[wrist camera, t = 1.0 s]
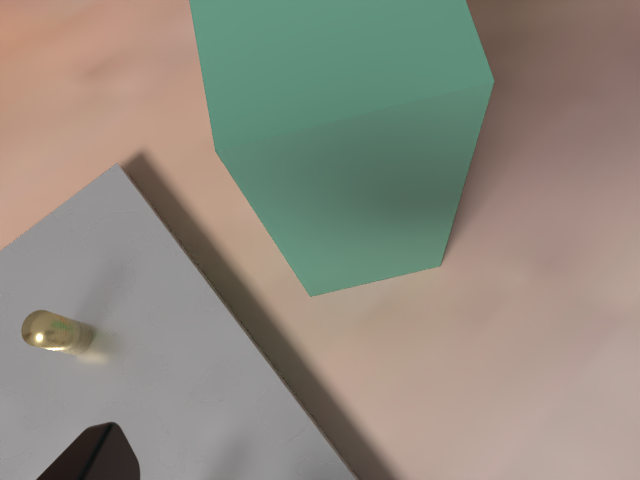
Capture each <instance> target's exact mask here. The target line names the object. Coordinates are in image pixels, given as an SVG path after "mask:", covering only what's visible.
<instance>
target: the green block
mask: <svg viewBox="0 0 640 480" xmlns="http://www.w3.org/2000/svg"><path fill="white" fill-rule="evenodd" d="M189 1H190V7H191V13H192V19H193V24H194V30H195V36H196V42H197V48H198V53H199V59H200V65H201V71H202V77H203V82H204V88H205V94H206V100H207V106H208V111H209V117H210V123H211V129H212V135H213V140H214V146H215V151H216V153H217V154H218V156H219V157H220V159H221V161H222V162H223V164H224V165H225V167H226V168H227V170H228V171H229V173H230V174H231V176H232V177H233V179H234V181H235V182H236V184H237V185H238V187H239V188H240V190H241V191H242V193H243V194H244V196H245V197H246V199H247V200H248V202H249V204H250V205H251V207H252V208H253V210H254V211H255V213H256V214H257V216H258V217H259V219H260V220H261V222H262V223H263V225H264V227H265V228H266V230H267V231H268V233H269V234H270V236H271V237H272V239H273V240H274V242H275V243H276V245H277V246H278V248H279V250H280V251H281V253H282V254H283V256H284V257H285V259H286V260H287V262H288V263H289V265H290V266H291V268H292V269H293V271H294V273H295V274H296V276H297V277H298V279H299V280H300V282H301V283H302V285H303V286H304V288H305V289H306V291H307V292H308V294H309V296H310V297H312V296H316V295H320V294H324V293H329V292H333V291H337V290H341V289H345V288H350V287H354V286H358V285H362V284H367V283H371V282H375V281H379V280H384V279H388V278H392V277H396V276H400V275H405V274H409V273H413V272H417V271H422V270H426V269H430V268H434V267H438V266H440V265H441V262H442V259H443V255H444V252H445V248H446V245H447V241H448V238H449V235H450V231H451V228H452V224H453V221H454V218H455V214H456V211H457V207H458V204H459V201H460V197H461V194H462V190H463V187H464V184H465V180H466V177H467V173H468V170H469V167H470V163H471V160H472V156H473V153H474V150H475V146H476V143H477V139H478V136H479V132H480V129H481V126H482V122H483V119H484V115H485V112H486V109H487V105H488V102H489V98H490V95H491V92H492V88H493V85H494V78H493V75H492V73H491V70H490V67H489V64H488V61H487V59H486V56H485V53H484V50H483V47H482V45H481V42H480V39H479V36H478V33H477V31H476V28H475V25H474V22H473V20H472V17H471V14H470V11H469V8H468V6H467V3H466V0H189Z"/></svg>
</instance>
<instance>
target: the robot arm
mask: <svg viewBox="0 0 640 480" xmlns="http://www.w3.org/2000/svg"><path fill="white" fill-rule="evenodd" d="M36 480H140V465H139V462H138V459H137V457H136V455H135V453H134V451H133V449H132V447H131V445H130V444H129V442H128V440H127V438H126V436H125V434H124V432H123V430H122V429H121V427H120V426H119V425H118V424H117V423H115V422H107V423H102V424H98V425H94V426H90V427H88V428H86V429H85V430H84V431H83V432H82V433H81V434H80V435H79V436H78V437H77V438H76V439H75V440H74V441H73V442H72V443H71V444H70V445H69V446H68V447H67V448H66V449H65V450H64V451H63V452H62V453H61V454H60V455H59V456H58V457H57V458H56V459H55V461H54V462H53V463H52V464H51V465H50V466H49V467H48V468H47V469H46V470H45V471H44V472H43V473H42V474H41V475H40V476H39V477H38V478H37V479H36Z"/></svg>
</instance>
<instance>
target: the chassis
mask: <svg viewBox="0 0 640 480" xmlns="http://www.w3.org/2000/svg"><path fill="white" fill-rule="evenodd" d="M107 422H115V423H117V424H118V425H119V426H120V427H121V429H122V430H123V432H124V434H125V436H126V438H127V440H128V442H129V444H130V445H131V447H132V449H133V451H134V453H135V455H136V457H137V459H138V462H139V465H140V480H359V478H358V477H357V476H356V474H355V473H354V472H353V470H352V469H351V468H350V466H349V465H348V464H347V462H346V461H345V460H344V458H343V457H342V456H341V454H340V453H339V452H338V451H337V449H336V448H335V447H334V445H333V444H332V443H331V441H330V440H329V439H328V437H327V436H326V435H325V433H324V432H323V431H322V429H321V428H320V427H319V425H318V424H317V423H316V421H315V420H314V419H313V417H312V416H311V415H310V414H309V412H308V411H307V410H306V408H305V407H304V406H303V404H302V403H301V402H300V400H299V399H298V398H297V396H296V395H295V394H294V392H293V391H292V390H291V388H290V387H289V386H288V384H287V383H286V382H285V381H284V379H283V378H282V377H281V375H280V374H279V373H278V371H277V370H276V369H275V367H274V366H273V365H272V363H271V362H270V361H269V359H268V358H267V357H266V355H265V354H264V353H263V351H262V350H261V349H260V347H259V346H258V345H257V344H256V342H255V341H254V340H253V338H252V337H251V336H250V334H249V333H248V332H247V330H246V329H245V328H244V326H243V325H242V324H241V322H240V321H239V320H238V318H237V317H236V316H235V314H234V313H233V312H232V310H231V309H230V308H229V307H228V305H227V304H226V303H225V301H224V300H223V299H222V297H221V296H220V295H219V293H218V292H217V291H216V289H215V288H214V287H213V285H212V284H211V283H210V281H209V280H208V279H207V277H206V276H205V275H204V273H203V272H202V271H201V270H200V268H199V267H198V266H197V264H196V263H195V262H194V260H193V259H192V258H191V256H190V255H189V254H188V252H187V251H186V250H185V248H184V247H183V246H182V244H181V243H180V242H179V240H178V239H177V238H176V237H175V235H174V234H173V233H172V231H171V230H170V229H169V227H168V226H167V225H166V223H165V222H164V221H163V219H162V218H161V217H160V215H159V214H158V213H157V211H156V210H155V209H154V207H153V206H152V205H151V203H150V202H149V201H148V200H147V198H146V197H145V196H144V194H143V193H142V192H141V190H140V189H139V188H138V186H137V185H136V184H135V182H134V181H133V180H132V178H131V177H130V176H129V174H128V173H127V172H126V171H125V170H124V169H123V168H122V167H121V166H119V165H118V164H117V163H116V164H115V165H114V166H112V167H111V168H110V169H109V170H107V171H106V172H105V173H103V174H102V175H101V176H99V177H98V178H97V179H95V180H94V181H93V182H91V183H90V184H89V185H87V186H86V187H85V188H83V189H82V190H81V191H79V192H78V193H77V194H75V195H74V196H73V197H71V198H70V199H69V200H67V201H66V202H65V203H63V204H62V205H61V206H60V207H58V208H57V209H56V210H54V211H53V212H52V213H50V214H49V215H48V216H46V217H45V218H44V219H42V220H41V221H40V222H38V223H37V224H36V225H34V226H33V227H32V228H30V229H29V230H28V231H26V232H25V233H24V234H22V235H21V236H20V237H18V238H17V239H16V240H14V241H13V242H12V243H11V244H9V245H8V246H7V247H5V248H4V249H3V250H1V251H0V480H36V479H37V478H38V477H39V476H40V475H41V474H42V473H43V472H44V471H45V470H46V469H47V468H48V467H49V466H50V465H51V464H52V463H53V462H54V461H55V459H56V458H57V457H58V456H59V455H60V454H61V453H62V452H63V451H64V450H65V449H66V448H67V447H68V446H69V445H70V444H71V443H72V442H73V441H74V440H75V439H76V438H77V437H78V436H79V435H80V434H81V433H82V432H83V431H84V430H85V429H86V428H88V427H90V426H94V425H98V424H102V423H107Z"/></svg>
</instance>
